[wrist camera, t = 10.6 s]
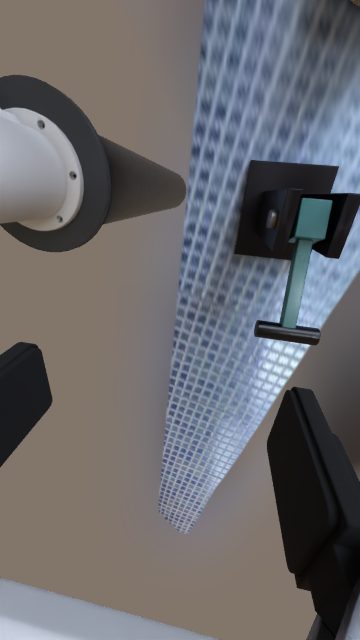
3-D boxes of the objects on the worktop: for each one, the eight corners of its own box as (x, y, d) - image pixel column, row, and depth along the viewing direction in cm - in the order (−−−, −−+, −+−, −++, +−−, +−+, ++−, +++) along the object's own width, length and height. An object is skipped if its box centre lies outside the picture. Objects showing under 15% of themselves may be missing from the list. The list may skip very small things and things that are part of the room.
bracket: (305, 259, 31) (352, 296, 20) (234, 251, 32) (239, 282, 20) (334, 167, 26) (418, 145, 15) (250, 161, 27) (268, 136, 16)
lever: (309, 342, 22) (321, 348, 19) (252, 333, 22) (257, 339, 20) (336, 211, 20) (353, 201, 18) (274, 206, 21) (282, 195, 18)
